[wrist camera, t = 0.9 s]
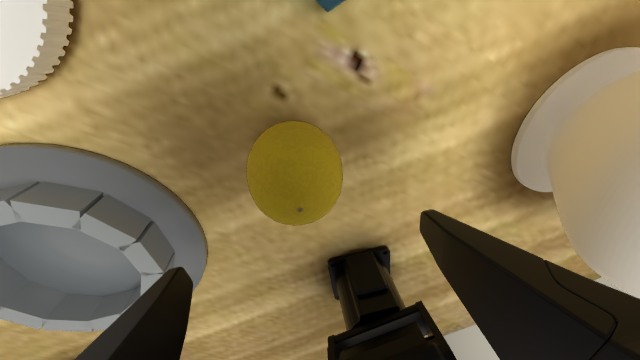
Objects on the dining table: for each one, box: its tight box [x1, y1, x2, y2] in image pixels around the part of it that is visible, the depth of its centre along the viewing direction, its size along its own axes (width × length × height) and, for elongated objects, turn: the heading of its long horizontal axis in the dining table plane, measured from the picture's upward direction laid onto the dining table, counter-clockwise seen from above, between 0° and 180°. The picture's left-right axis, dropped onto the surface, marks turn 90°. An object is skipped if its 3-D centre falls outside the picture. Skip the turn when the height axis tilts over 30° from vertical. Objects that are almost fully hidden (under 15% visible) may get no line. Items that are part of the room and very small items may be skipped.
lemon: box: [246, 121, 343, 225], centre depth 14 cm, size 6×6×8 cm
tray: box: [0, 143, 208, 332], centre depth 18 cm, size 18×18×3 cm
